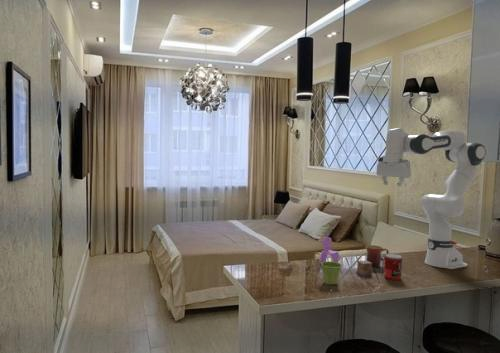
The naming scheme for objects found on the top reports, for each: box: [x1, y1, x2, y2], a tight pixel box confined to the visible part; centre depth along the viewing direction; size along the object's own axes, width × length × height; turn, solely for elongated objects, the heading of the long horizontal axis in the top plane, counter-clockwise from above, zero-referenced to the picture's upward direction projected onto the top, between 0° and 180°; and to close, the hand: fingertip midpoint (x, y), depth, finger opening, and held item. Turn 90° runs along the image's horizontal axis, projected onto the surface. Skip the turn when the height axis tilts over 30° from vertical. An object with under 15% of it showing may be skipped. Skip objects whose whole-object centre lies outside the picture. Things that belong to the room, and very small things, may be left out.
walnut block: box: [356, 260, 373, 276], centre depth 196 cm, size 5×5×6 cm
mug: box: [365, 244, 390, 268], centre depth 211 cm, size 12×9×10 cm
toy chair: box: [318, 236, 340, 265], centre depth 210 cm, size 8×9×15 cm
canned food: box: [384, 253, 403, 281], centre depth 190 cm, size 8×8×11 cm
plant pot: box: [320, 261, 343, 285], centre depth 180 cm, size 9×9×9 cm
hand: (392, 185), depth 204 cm, fingers open, 8 cm apart
